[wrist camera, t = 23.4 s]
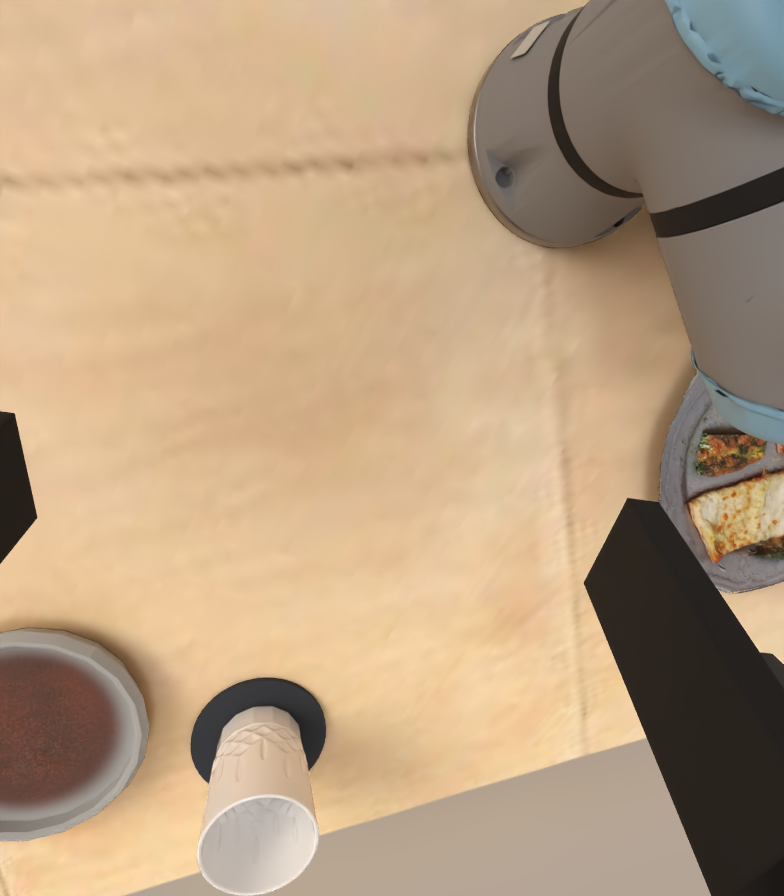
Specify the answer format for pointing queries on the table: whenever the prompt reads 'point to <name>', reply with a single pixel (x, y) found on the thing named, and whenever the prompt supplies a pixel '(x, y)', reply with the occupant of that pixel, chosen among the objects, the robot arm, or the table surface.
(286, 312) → the table surface
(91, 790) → the frying pan
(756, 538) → the food plate
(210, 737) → the coaster
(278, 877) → the white cup
